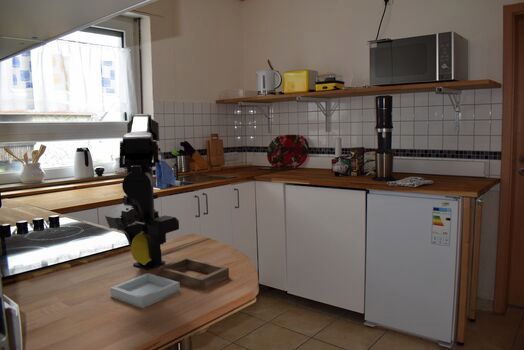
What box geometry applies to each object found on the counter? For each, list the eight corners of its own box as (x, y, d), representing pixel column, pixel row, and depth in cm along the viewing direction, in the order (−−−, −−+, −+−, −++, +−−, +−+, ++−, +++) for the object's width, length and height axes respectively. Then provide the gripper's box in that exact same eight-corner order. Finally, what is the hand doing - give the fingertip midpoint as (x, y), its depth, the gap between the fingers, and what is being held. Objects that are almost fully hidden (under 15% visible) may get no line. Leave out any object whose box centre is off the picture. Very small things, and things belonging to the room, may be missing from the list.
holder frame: (158, 277, 113) (158, 267, 113) (185, 265, 121) (185, 257, 121) (202, 290, 104) (202, 280, 104) (228, 277, 112) (228, 267, 112)
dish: (110, 296, 101) (110, 287, 101) (148, 281, 110) (148, 272, 110) (142, 308, 95) (142, 298, 95) (179, 291, 104) (179, 282, 104)
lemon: (150, 269, 99) (148, 235, 97) (127, 268, 100) (125, 234, 98) (160, 261, 104) (158, 229, 103) (138, 260, 105) (137, 228, 104)
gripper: (84, 192, 98) (89, 258, 100) (139, 201, 87) (143, 275, 90) (125, 185, 107) (128, 246, 109) (179, 192, 96) (182, 260, 99)
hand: (143, 256), depth 101 cm, fingers closed on lemon, 5 cm apart
